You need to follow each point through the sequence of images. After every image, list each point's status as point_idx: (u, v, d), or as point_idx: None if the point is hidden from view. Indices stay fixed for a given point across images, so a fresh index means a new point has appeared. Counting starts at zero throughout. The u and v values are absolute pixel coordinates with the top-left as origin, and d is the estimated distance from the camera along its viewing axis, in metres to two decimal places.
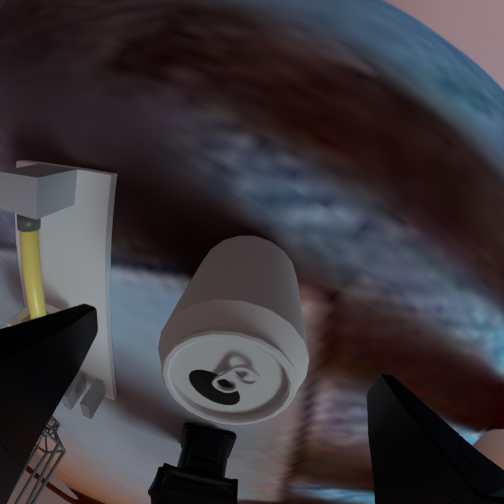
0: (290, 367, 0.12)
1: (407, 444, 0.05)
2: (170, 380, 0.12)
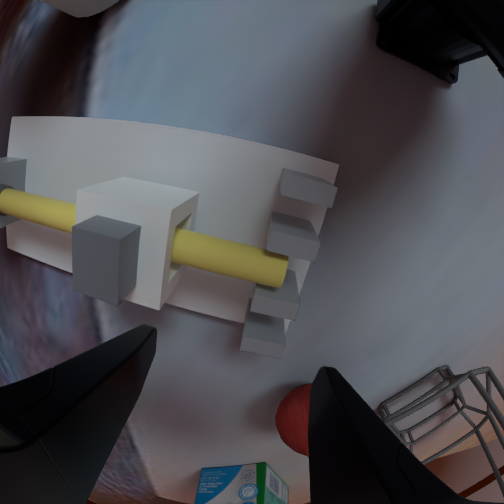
0: None
1: (338, 445, 0.05)
2: None
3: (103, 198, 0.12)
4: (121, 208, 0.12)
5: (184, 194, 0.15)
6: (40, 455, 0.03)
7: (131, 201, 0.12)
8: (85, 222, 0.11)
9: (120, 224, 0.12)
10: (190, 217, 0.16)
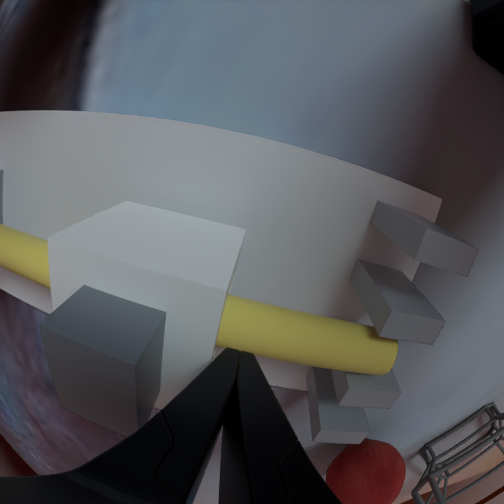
0: None
1: (232, 433, 0.05)
2: None
3: (93, 258, 0.06)
4: (127, 279, 0.07)
5: (228, 238, 0.10)
6: None
7: (146, 269, 0.06)
8: (64, 308, 0.06)
9: (128, 312, 0.06)
10: (234, 270, 0.11)
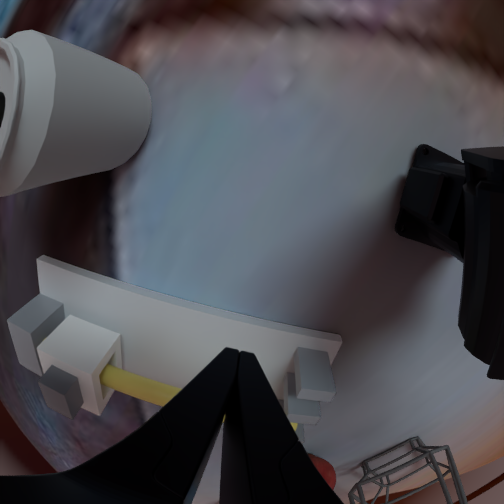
0: None
1: (233, 433, 0.05)
2: None
3: (52, 358, 0.16)
4: (64, 366, 0.16)
5: (106, 342, 0.19)
6: None
7: (68, 364, 0.16)
8: (45, 375, 0.15)
9: (65, 377, 0.16)
10: (115, 353, 0.20)
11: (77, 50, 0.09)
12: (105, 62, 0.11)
